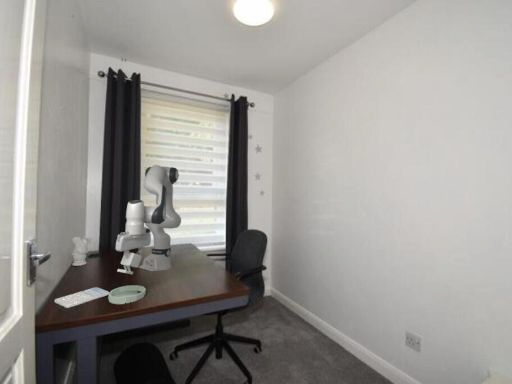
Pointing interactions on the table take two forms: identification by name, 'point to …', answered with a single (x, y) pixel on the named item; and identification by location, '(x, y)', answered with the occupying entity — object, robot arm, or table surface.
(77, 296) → the calculator
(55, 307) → the table surface
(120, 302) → the faceted green bowl
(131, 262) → the security camera
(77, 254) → the cherub figurine
